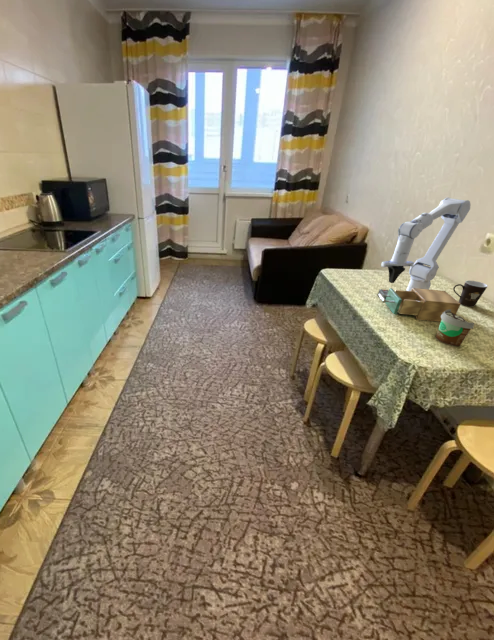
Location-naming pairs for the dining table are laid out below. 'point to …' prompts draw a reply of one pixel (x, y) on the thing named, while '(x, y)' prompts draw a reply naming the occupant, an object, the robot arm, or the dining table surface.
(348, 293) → the dining table surface
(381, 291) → the remote
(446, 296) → the cabinet
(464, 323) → the food container
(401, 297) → the drawer
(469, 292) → the coffee mug
